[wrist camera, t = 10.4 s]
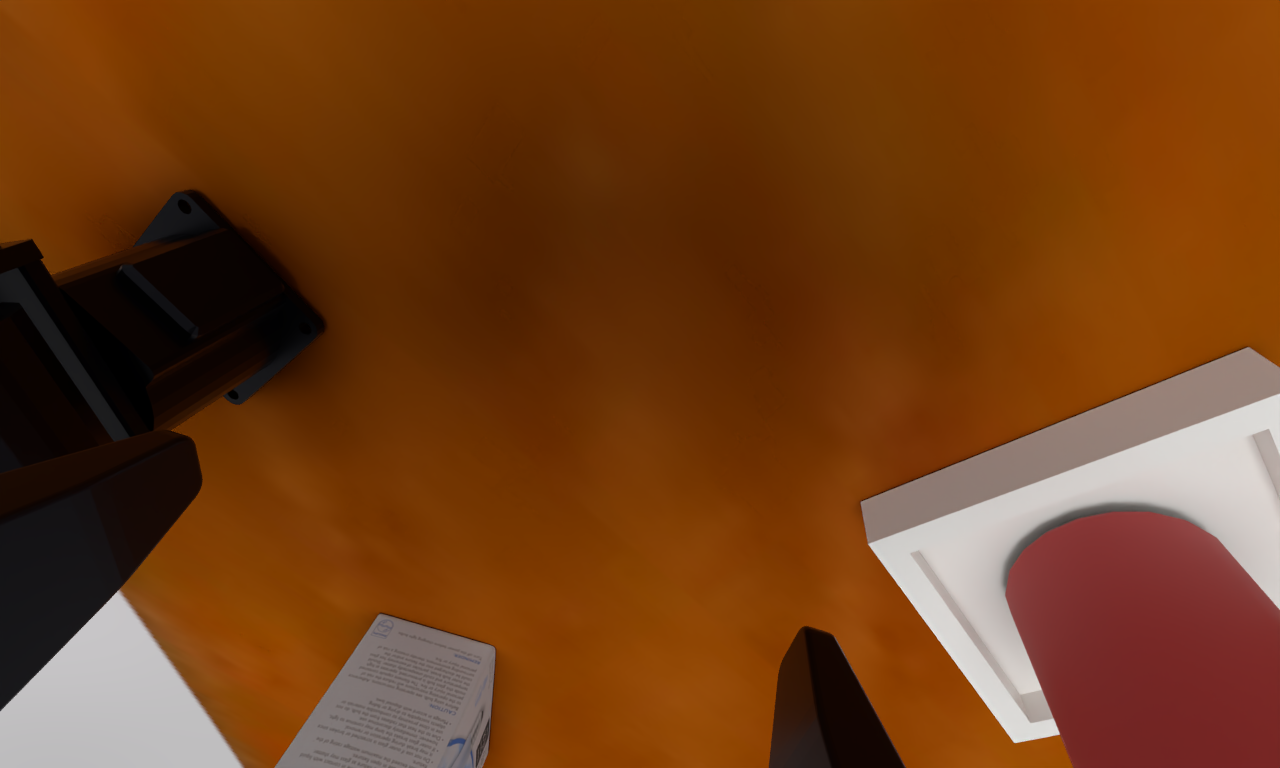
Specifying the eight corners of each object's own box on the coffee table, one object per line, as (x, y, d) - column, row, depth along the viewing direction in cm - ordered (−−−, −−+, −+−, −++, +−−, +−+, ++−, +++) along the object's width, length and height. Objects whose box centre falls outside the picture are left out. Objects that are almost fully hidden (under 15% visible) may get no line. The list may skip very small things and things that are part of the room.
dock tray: (997, 692, 26) (1014, 743, 25) (860, 501, 23) (867, 543, 21) (1353, 610, 21) (1410, 666, 19) (1248, 346, 18) (1304, 384, 16)
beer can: (1212, 633, 22) (1607, 1173, 11) (1004, 642, 24) (1179, 1107, 13) (1232, 487, 19) (1777, 1029, 9) (993, 512, 21) (1205, 975, 11)
